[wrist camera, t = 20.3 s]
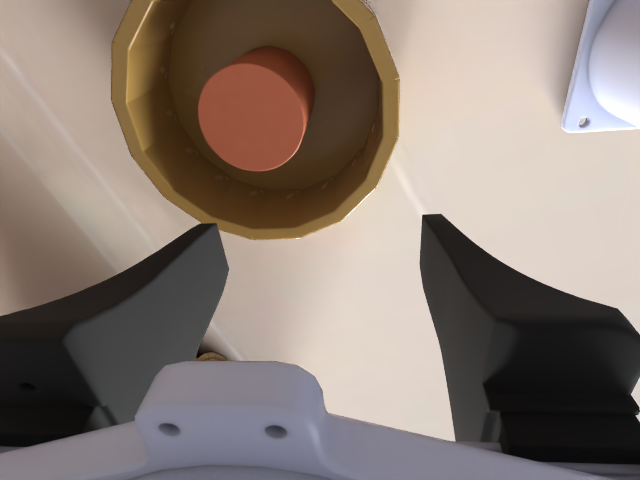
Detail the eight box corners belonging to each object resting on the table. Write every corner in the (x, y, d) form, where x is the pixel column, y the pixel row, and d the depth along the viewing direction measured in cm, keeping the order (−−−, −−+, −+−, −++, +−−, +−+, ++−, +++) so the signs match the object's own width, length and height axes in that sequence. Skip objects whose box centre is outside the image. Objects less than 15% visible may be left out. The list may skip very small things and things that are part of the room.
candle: (310, 42, 20) (297, 57, 15) (318, 133, 22) (309, 169, 18) (220, 50, 20) (184, 67, 16) (238, 139, 23) (211, 174, 18)
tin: (391, -65, 17) (402, -80, 13) (390, 191, 24) (397, 235, 20) (126, -33, 19) (60, -38, 15) (194, 201, 25) (162, 243, 21)
